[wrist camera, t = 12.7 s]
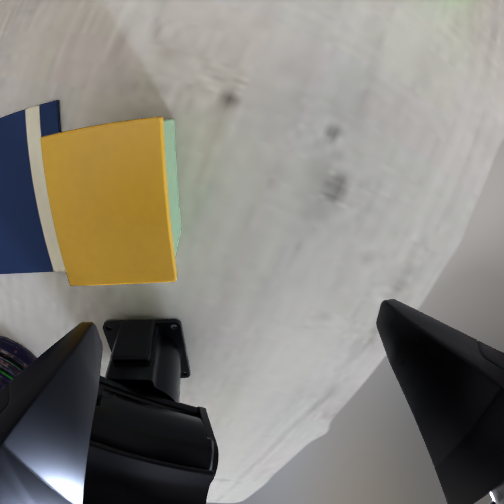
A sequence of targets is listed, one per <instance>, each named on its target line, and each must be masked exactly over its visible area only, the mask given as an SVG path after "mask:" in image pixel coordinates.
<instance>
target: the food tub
mask: <svg viewBox="0 0 504 504" xmlns="http://www.w3.org/2000/svg"><path fill="white" fill-rule="evenodd" d="M40 141H41V150H42V159H43V167H44V174H45V180H46V187H47V193H48V198H49V204H50V209H51V214H52V218H53V223H54V228H55V232H56V236H57V240H58V244H59V248H60V252H61V256H62V259H63V263H64V267H65V270H66V274H67V277H68V280H69V283H70V286H85V285H112V284H136V283H157V282H175V281H176V279H177V269H176V261H175V257H176V252H177V248H178V243H179V238H180V233H181V218H180V207H179V194H178V181H177V166H176V148H175V126H174V119H164V118H163V117H162V116H161V117H151V118H143V119H135V120H127V121H120V122H114V123H107V124H101V125H96V126H90V127H85V128H80V129H75V130H70V131H65V132H61V133H56V134H52V135H48V136H44V137H41V139H40Z"/></svg>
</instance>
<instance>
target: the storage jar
mask: <svg viewBox="0 0 504 504" xmlns="http://www.w3.org/2000/svg"><path fill="white" fill-rule="evenodd" d="M36 359H37V358H36V357H35V356H34V355H33V354H32V353H30V352H29V351H28V350H27V349H25V348H24V347H22V346H21V345H19V344H18V343H16V342H14V341H12V340H10V339H8V338H5V337H2V336H0V390H1V389H2V388H3V387H4V386H5V385H6V384H9V382H10V381H11V380H12V379H13V378H15V377H16V376H17V375H18V374H19V373H20V372H22V371H23V370H24V369H25V368H26V367H27V366H29V365H30V364H31V363H32V362H33V361H35V360H36Z"/></svg>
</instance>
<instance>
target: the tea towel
mask: <svg viewBox="0 0 504 504" xmlns="http://www.w3.org/2000/svg"><path fill="white" fill-rule="evenodd" d="M56 133H61V129H60V114H59V100H56V101H52V102H48V103H45V104H41V105H38V106H34V107H31V108H28V109H25V110H22V111H19V112H16V113H13V114H10V115H8V116H5V117H2V118H0V274H11V273H33V272H53V271H54V272H63V271H66V270H65V267H64V263H63V259H62V256H61V252H60V248H59V244H58V240H57V236H56V232H55V228H54V223H53V218H52V214H51V209H50V204H49V198H48V193H47V187H46V180H45V174H44V167H43V159H42V150H41V141H40V139H41V137H44V136H48V135H52V134H56Z"/></svg>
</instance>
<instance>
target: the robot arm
mask: <svg viewBox="0 0 504 504" xmlns="http://www.w3.org/2000/svg"><path fill="white" fill-rule="evenodd" d="M376 324H377V329H378V332H379V334H380V337H381V340H382V343H383V345H384V348H385V351H386V354H387V357H388V359H389V362H390V365H391V367H392V369H393V371H394V373H395V375H396V378H397V380H398V382H399V384H400V386H401V388H402V391H403V393H404V395H405V397H406V400H407V402H408V404H409V406H410V408H411V411H412V413H413V415H414V418H415V420H416V422H417V425H418V427H419V430H420V432H421V434H422V436H423V439H424V442H425V444H426V447H427V449H428V452H429V454H430V457H431V459H432V462H433V464H434V466H435V470H436V472H437V475H438V478H439V481H440V483H441V486H442V489H443V492H444V495H445V497H446V501H447V503H448V504H474V503H475V502H477V501H478V500H480V499H481V498H483V497H484V496H485V495H487V494H488V493H491V495H492V497H493V499H494V500H493V501H492V502H491V503H489V504H504V353H503V352H500V351H498V350H496V349H494V348H492V347H490V346H488V345H486V344H484V343H482V342H480V341H477V340H476V339H474V338H472V337H470V336H468V335H466V334H464V333H462V332H460V331H458V330H456V329H454V328H452V327H450V326H448V325H446V324H444V323H442V322H440V321H438V320H436V319H434V318H432V317H430V316H428V315H426V314H424V313H422V312H420V311H418V310H416V309H414V308H412V307H410V306H407V305H405V304H403V303H401V302H399V301H397V300H395V299H390V300H384V301H383V302H382V303H381V306H380V310H379V314H378V317H377V322H376ZM173 325H177V326H176V327H175V326H173ZM107 326H109V327H111V328H109V327H107ZM103 330H104V333H105V336H106V339H107V341H108V344H109V347H110V349H111V352H112V353H111V358H110V361H109V365H108V368H107V372H106V376H105V377H102V376H100V368H101V359H102V351H103V345H102V341H101V339H100V336H99V333H98V331H97V328H96V325H95V324H94V323H93V322H82V323H80V324H79V325H78V326H76V327H75V328H74V329H72V330H71V331H70V332H69V333H68V334H66V335H65V336H64V337H63V338H61V339H60V340H59V341H58V342H56V343H55V344H54V345H53V346H51V347H50V348H49V349H48V350H47V351H45V352H44V353H43V354H42V355H41V356H39V357H38V358H37V359H36V360H35V361H33V362H32V363H31V364H30V365H29V366H27V367H26V368H25V369H24V370H23V371H22V372H20V373H19V374H18V375H17V376H16V377H15V378H13V379H12V380H11V381H10V382H9V384H6V385H5V386H4V387H3V388H2V389H1V390H0V504H206V499H207V494H208V490H209V486H210V483H211V482H212V480H213V479H214V476H215V474H216V470H217V466H218V447H217V443H216V440H215V437H214V434H213V431H212V428H211V424H210V421H209V418H208V415H207V412H206V409H205V408H202V407H194V406H190V405H186V404H183V403H179V396H180V378H187V377H189V376H190V366H189V361H188V356H187V351H186V346H185V341H184V336H183V330H182V325H181V322H180V321H179V320H177V319H160V320H123V321H105V322H104V325H103ZM184 372H186V373H184Z"/></svg>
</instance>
